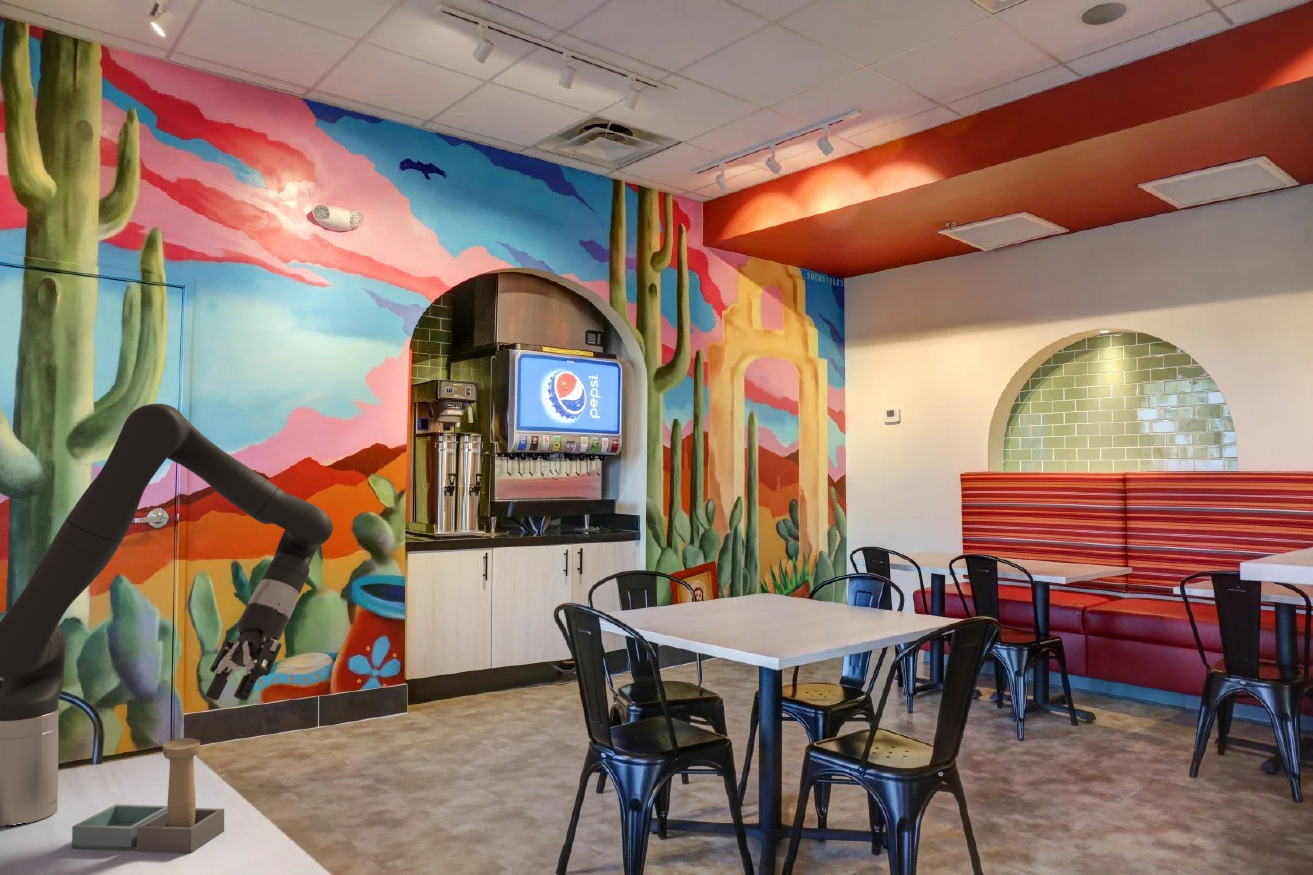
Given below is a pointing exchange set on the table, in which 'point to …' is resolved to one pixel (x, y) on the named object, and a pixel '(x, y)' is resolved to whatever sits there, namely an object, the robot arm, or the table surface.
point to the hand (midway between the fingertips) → (225, 699)
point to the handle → (181, 781)
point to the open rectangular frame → (180, 832)
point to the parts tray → (113, 827)
